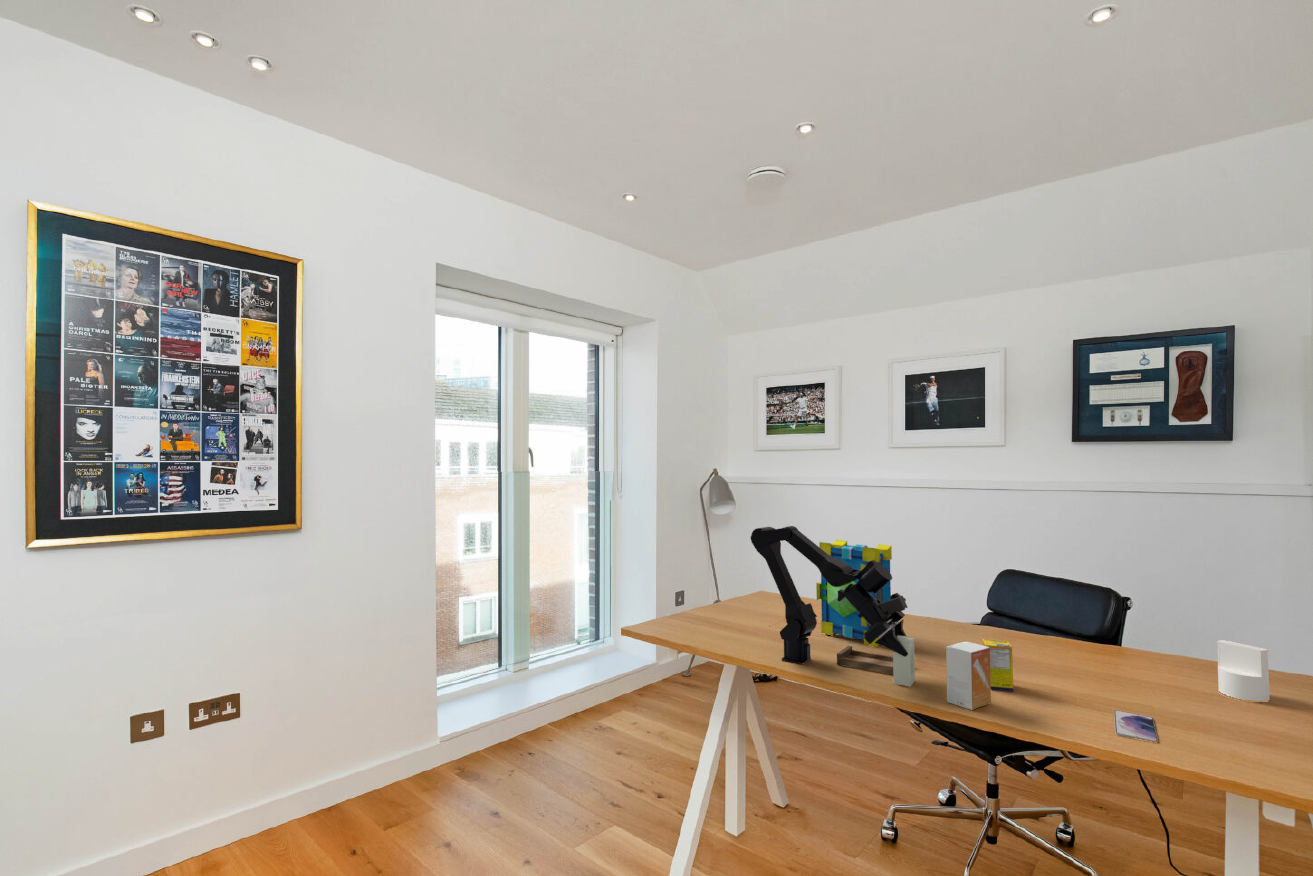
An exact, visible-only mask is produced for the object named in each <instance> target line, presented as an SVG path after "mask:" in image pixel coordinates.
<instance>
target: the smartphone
mask: <svg viewBox="0 0 1313 876" xmlns="http://www.w3.org/2000/svg"><path fill="white" fill-rule="evenodd" d="M1113 720H1114V722H1113V723H1115V724H1114V725H1113V726H1114V734H1116V735H1115V736H1117V735H1118V736H1117V737H1120V736H1123V738H1126V737H1129V738H1128V739H1131V738H1137V739H1142V740H1147V741H1152V742H1159V739H1158V738H1159V737H1158V734H1157V729H1156V724H1155V720H1154V718H1153V717H1151V716H1146V715H1140V714H1137V713H1136V714H1135V713H1132V712H1126V711H1122V710H1113ZM1153 720H1154V721H1153ZM1155 729H1156V730H1155Z"/></svg>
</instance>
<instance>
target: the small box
mask: <svg viewBox="0 0 1313 876" xmlns="http://www.w3.org/2000/svg"><path fill="white" fill-rule="evenodd" d="M945 649H946V651H945V652H946V654H945V655H946V700H947V701H946V702H947V703H949V704H952V705H955V706H958V707H962V708H964V709H967V710H971V711H973V710H975V709H977V708H981V707H984V706H986V704H987V705H990V704H992V693H991V692H992V691H991V690H992V689H991V676H990V647H987V646H983V645H982V644H979V643H974V642H970V641H962V642H957V643H954V644H951V645H947V646H946V648H945ZM989 703H990V704H989Z"/></svg>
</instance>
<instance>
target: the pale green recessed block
mask: <svg viewBox="0 0 1313 876" xmlns="http://www.w3.org/2000/svg"><path fill="white" fill-rule="evenodd" d="M906 636H907V635H906ZM906 636H899V635H898V636H897V638H898V640H899V641H900V643H901V644H902V645H903V647H904V648H905V650H906V651H907V653H908V655H907V656H906V657H904V656H902V655H900V654H898V653H896V652H894V651H892V656H893V675H892V676H893V677H892V678H893V684H895V685H898V686H899V685H900V686H905V687H911V686H912V685H913V684H914V683H915V682H914V681H916V671H915V670H916V667H915V660H916V659H915V637H911V636H907V637H906Z"/></svg>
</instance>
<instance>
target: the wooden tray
mask: <svg viewBox="0 0 1313 876" xmlns="http://www.w3.org/2000/svg"><path fill="white" fill-rule="evenodd" d="M837 664H839V665H838V666H841V665H844V666H843V667H847V666H849V667H848V668H852V667H854V668H853V669H857V670H858V669H859V670H865V671H870V672H874V671H876V673H880V672H881V673H880V674H885V673H886V674H885V675H891V674H892V675H891V676H893V655H885V654H879V653H874V652H867V651H861V650H856V649H853V646H851V645H847V646H846V647H844V648H843V649H841V650H840V651H838V652H837V653H836V665H837Z"/></svg>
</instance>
